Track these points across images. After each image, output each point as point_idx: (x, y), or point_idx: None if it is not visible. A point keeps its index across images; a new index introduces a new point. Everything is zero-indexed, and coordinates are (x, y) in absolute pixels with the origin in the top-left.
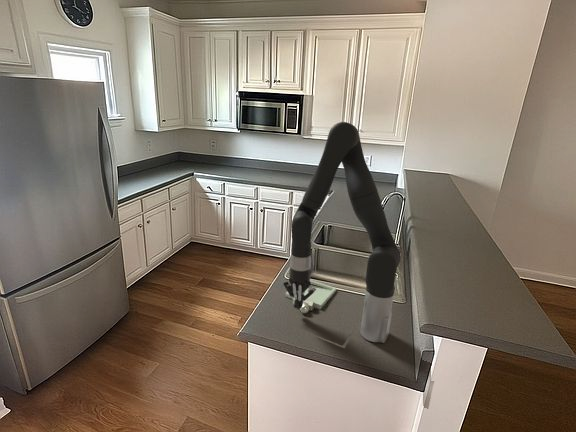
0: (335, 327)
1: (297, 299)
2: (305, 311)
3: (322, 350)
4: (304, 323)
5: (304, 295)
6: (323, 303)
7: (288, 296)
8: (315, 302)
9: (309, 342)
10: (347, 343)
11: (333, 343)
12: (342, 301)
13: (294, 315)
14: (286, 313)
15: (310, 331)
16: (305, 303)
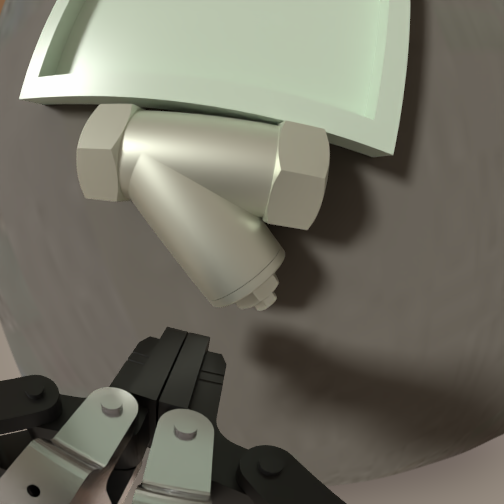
0: (463, 335)
1: (148, 441)
2: (260, 308)
3: (379, 473)
4: (278, 380)
5: (228, 486)
6: (397, 96)
7: (52, 101)
8: (328, 117)
9: (328, 469)
10: (477, 405)
11: (428, 433)
12: (469, 25)
13: (177, 319)
14: (116, 312)
15: (327, 423)
16: (232, 236)
